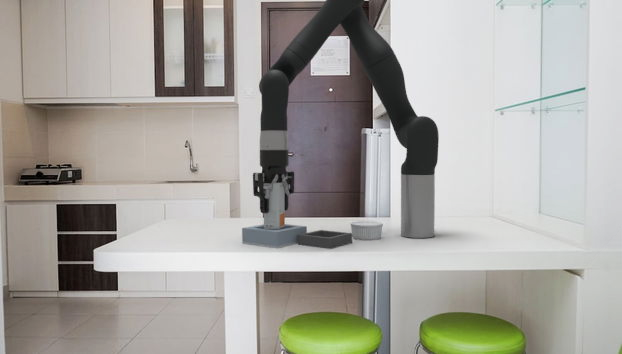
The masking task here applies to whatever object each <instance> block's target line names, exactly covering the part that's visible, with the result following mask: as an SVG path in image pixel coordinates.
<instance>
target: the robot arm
mask: <svg viewBox="0 0 622 354" xmlns="http://www.w3.org/2000/svg"><path fill="white" fill-rule="evenodd" d="M364 2H365V0H325V2H323V4H322V6H321V7H320V8H319V10H318V11H317V12H316V14H315V15H314V16H313V17H312V18H311V19H310V20H309V22H307V24H306V25H305V26H303V28H301V30H300V31H299V32H298V33H297V34H296V35H295V37H294V38H293V39H292V40H291V41H290V42H289V44H288V45H287V46H286V47H285V49H284V50H283V51H282V53H281V54H280V56H279V58H278V59H277V60H276V61H275V63H274V64H273V65H272V66H271V67H270V68H269V69H268V71H267V72H266V73H265V74H264V75H263V76H262V77H261V78H260V81H259V84H258V88H259V89H258V90H259V92H260V94H261V105H262V106H261V107H262V108H261V111H260V112H261V113H260V120H259V121H260V133H259V135H260V136H259V167H260V168H261V167H262V169H261V172H253V173H252V186H253V187H252V188H253V189H252V190H253V191H252V193H253V197H258V198H259V211H260V213H261V214H264V213H268V212H269V199H267V198H268V197H269V194H270V192H271V191H272V190H273V183H283V186H284V192H285V212H286V211H289V196H290V195H291V194H294V192H295V172H294V171H291V170H289V171H287V167H288V166H289V164H290V163H289V161H290V159H289V157H290V156H289V136H288V135H289V134H288V104H289V96H290V95H289V94H290V93H289V92H290V88H289V87H290V86H291V84H292V83H293V82H294V80H295V79H296V78H297V76H298V75H299V74H301V72H303V71H304V70H305V69H306V67H307V66H308V65H309V63H311V61H312V60H313V59H314V58H315V56H316V55H317V53H318V52H319V50H321V48H322V47H323V45H324V44H325V42H326V41H327V40H328V38H329V37H330V36H331V34H333V32H334V31H335V30H336V29H337V27H338V26H339V25H340V26H341V28H342V29H343V30H344V32H345V33H346V36H347V37H348V39H349V41H350V43H351V46H352V47H353V50H354V52H355V54H356V55H357V58H358V59H359V62H360V64H361V66H362V68H363V70H364V71H365V74H366V76H367V78H368V79H369V81H370V83H371V85H372V87H373V89H374V91H375V93H376V94H377V96H378V99H379V100H380V101H381V104H382V105H383V108H384V109H385V111H386V114H387V116H388V118H389V120H390V123H391V126H392V129H393V131H394V134H395V136H396V139H397V141H398V142H399V144H400V145H401V146H402V147H403V148H405V149H406V154H405V155H406V157H405V159H404V162H403V163H402V164H401V166H400V236H402V237H406V238H413V239H414V238H415V239H425V238H433V237H435V212H436V211H435V203H436V202H435V191H436V190H435V188H436V186H435V184H436V183H435V180H436V179H435V178H436V176H435V173H436V172H435V171H436V167H437V165H438V160H439V141H440V140H439V128H438V125H437V124H436V122H435V121H434V120H433V119H432V118H431V117H428V116H424V115H423V116H422V115H420V116H418V115H417V114H416V113H417V112H416V111H415V109H414V108H413V106H412V104H411V103H410V100H409V97H408V94H407V89H406V88H407V87H406V82H405V81H406V80H405V76H404V75H405V74H404V71H403V69H402V65H401V64H400V61H399V59H398V58H397V55H396V53H395V51H394V50H393V48H392V46H391V45H390V43H388V42H387V40H386V39H385V38H384V37H383V36H382V35H381V34H380V33H379V32H378V31H377V30H376V29H375V28H374V27H373V25H372V24H371V22H370V21H369V19H368V17H367V14H366V13H365V11H364V8H363V6H362V5H363V4H364ZM264 183H270V185H269V186H264ZM264 190H266V192H265V193H264Z"/></svg>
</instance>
